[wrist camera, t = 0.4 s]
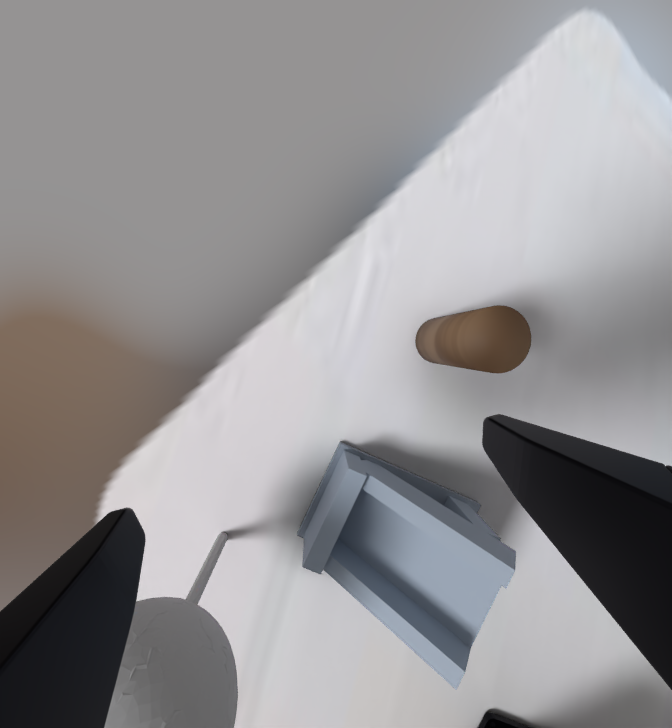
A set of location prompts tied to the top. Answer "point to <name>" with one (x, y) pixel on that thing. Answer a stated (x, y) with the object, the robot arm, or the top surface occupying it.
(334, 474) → the cradle
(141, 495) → the top surface
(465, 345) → the peg
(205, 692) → the lollipop
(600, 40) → the top surface
